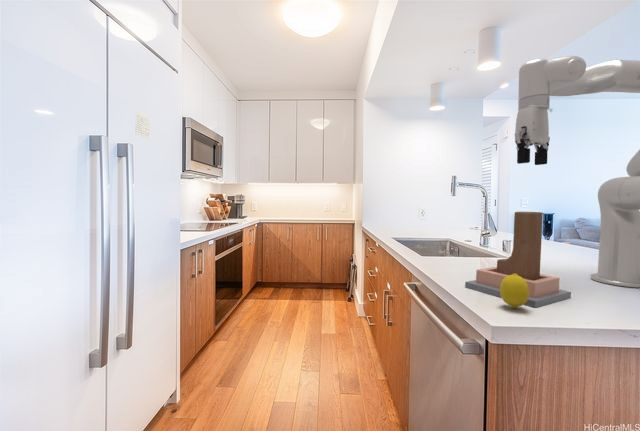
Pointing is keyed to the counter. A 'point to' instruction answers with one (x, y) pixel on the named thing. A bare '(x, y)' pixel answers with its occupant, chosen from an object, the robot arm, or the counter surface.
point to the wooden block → (524, 247)
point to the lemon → (514, 290)
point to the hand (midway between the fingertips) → (532, 163)
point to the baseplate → (529, 302)
